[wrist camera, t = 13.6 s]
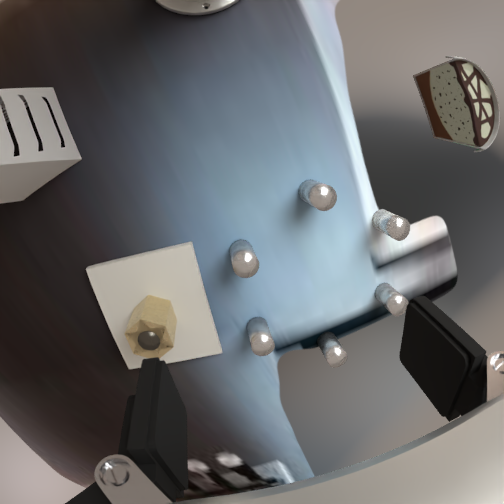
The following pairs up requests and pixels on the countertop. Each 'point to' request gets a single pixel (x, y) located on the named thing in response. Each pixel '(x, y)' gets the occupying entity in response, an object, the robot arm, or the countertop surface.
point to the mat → (163, 286)
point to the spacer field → (386, 294)
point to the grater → (32, 142)
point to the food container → (460, 103)
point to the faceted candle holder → (152, 327)
